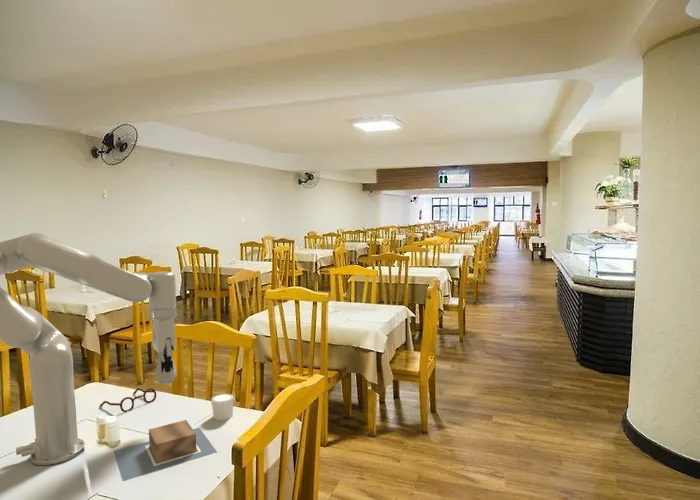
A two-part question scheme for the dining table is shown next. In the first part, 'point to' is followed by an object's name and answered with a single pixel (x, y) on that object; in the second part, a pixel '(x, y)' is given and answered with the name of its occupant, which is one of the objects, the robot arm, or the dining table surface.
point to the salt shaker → (165, 376)
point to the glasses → (133, 399)
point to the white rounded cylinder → (222, 406)
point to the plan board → (144, 462)
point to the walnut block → (172, 441)
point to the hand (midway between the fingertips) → (165, 371)
